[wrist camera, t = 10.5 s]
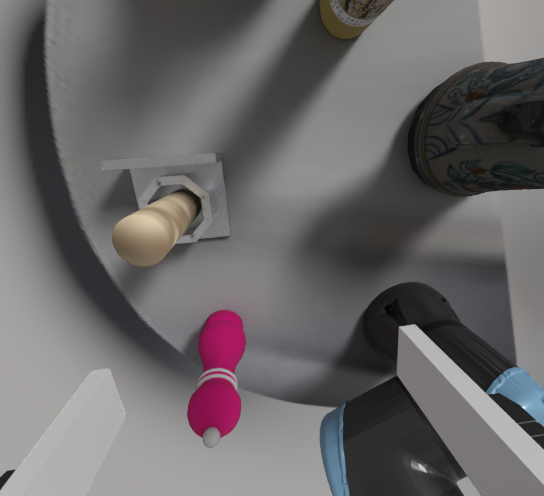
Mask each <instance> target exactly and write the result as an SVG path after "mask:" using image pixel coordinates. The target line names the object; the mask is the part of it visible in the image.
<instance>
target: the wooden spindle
mask: <svg viewBox="0 0 544 496" xmlns="http://www.w3.org/2000/svg"><path fill="white" fill-rule="evenodd" d="M200 210H201V203H200V200H199V198H198V197H197V195H196V194H195V193H193V192H192V191H190V190H186V189H179V190H176V191H174V192H172V193H170V194H169V195H167V196H165V197H163V198H161V199H159V200H157V201H155V202H153V203H152V204H150V205H148V206H146V207H144V208H142V209H140V210H138V211H136V212H135V213H133V214H131V215H129V216H127V217H125V218H123V219H122V220H120V221H119V222H118V223H117V224H116V226H115V227H114V230H113V233H112V242H113V246H114V248H115V250H116V252H117V253H118V254H119V256H120V257H121V258H123V259H124V260H125V261H127V262H128V263H130V264H133V265H136V266H142V267H146V266H152V265H155V264H157V263H159V262H160V261H161V260H162V259H163V258H164V257H165V256H166V255H167V253H168V252H169V251H170V250H171V248H172V247H173V246H174V245H175V243H176V242H177V241H178V240H179V239H180V237H181V236H182V235H183V234H184V232H185V231H186V230H187V229H188V227H189V226H190V225H191V224H192V222H193V221H194V220H195V219H196V217H197V216H198V215H199V213H200Z"/></svg>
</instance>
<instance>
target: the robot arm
mask: <svg viewBox="0 0 544 496" xmlns="http://www.w3.org/2000/svg"><path fill="white" fill-rule="evenodd" d="M363 329H364V334H365V337H366V339H367V341H368V342H369V344H370V345H371V347H372V348H373V350H374V351H375V352H376V353H377V354H378V355H379V356H381V357H383V358H384V359H386V360H388V361H389V362H390V363H392V364H393V365H394V366H396V367H397V376H395V377H393V378H391V379H390V380H388V381H386V382H384V383H382V384H380V385H378V386H377V387H375V388H373V389H371V390H369V391H367V392H365V393H363V394H361V395H360V396H358V397H356V398H354V399H352V400H350V401H348V400H347V401H345V402H343V404H342V405H341V406H340V407H338V408H336V409H335V410H333V411H332V412H330V413H328V414H327V415H326V416H325V417H324V419H323V420H322V422H321V426H320V447H321V454H322V459H323V464H324V468H325V472H326V476H327V479H328V483H329V486H330V489H331V492H332V495H333V496H464V495H463V493H462V492H461V490H460V489H459V487H458V486H457V481H458V480H460V479H462V478H464V477H467V476H468V477H469V479H470V480H471V482H472V483H473V485H474V486H475V487H476V489H477V490H478V492H479V493H480V495H481V496H544V388H543V387H542V386H540V385H539V384H538V383H537V382H536V381H534V380H533V379H532V378H531V376H530V375H529V374H528V373H527V372H526V371H525V370H523V369H522V368H520V367H518V366H517V365H515V364H514V363H513V362H511V361H510V360H509V359H507V358H506V357H505V356H503V355H502V354H501V353H500V352H498V351H497V350H496V349H494V348H493V347H492V346H490V345H489V344H488V343H486V342H485V341H484V340H482V339H481V338H480V337H479V336H477V335H476V334H475V333H473V332H472V331H471V330H469V329H468V328H467V327H465V326H464V325H463V324H462V323H461V322H460V320H459V318H458V317H457V315H456V314H455V312H454V311H453V309H452V308H451V306H450V304H449V303H448V301H447V300H446V298H445V297H444V296H443V295H441V294H440V293H439V292H437V291H436V290H435V289H433V288H432V287H430V286H428V285H426V284H423V283H417V282H409V283H403V284H399V285H396V286H394V287H391V288H389V289H388V290H386V291H384V292H383V293H382V294H380V295H379V296H378V297H377V298H376V299H375V300H374V301H373V302H372V304H371V305H370V307H369V308H368V310H367V312H366V315H365V318H364V324H363ZM125 418H126V413H125V410H124V407H123V404H122V402H121V399H120V397H119V393H118V391H117V388H116V385H115V382H114V380H113V377H112V375H111V372H110V369H109V368H108V369H101V370H94V371H91V372H90V374H89V375H88V376H87V377H86V379H85V380H84V382H83V383H82V384H81V385H80V387H79V388H78V389H77V391H76V392H75V393H74V394H73V396H72V397H71V399H70V400H69V401H68V402H67V404H66V405H65V406H64V408H63V409H62V410H61V411H60V413H59V414H58V415H57V417H56V418H55V419H54V421H53V422H52V423H51V425H50V426H49V427H48V429H47V430H46V431H45V432H44V434H43V435H42V436H41V438H40V439H39V440H38V442H37V443H36V444H35V445H34V447H33V448H32V450H31V451H30V452H29V453H28V455H27V456H26V457H25V459H24V460H23V461H22V463H21V464H20V465H19V467H18V468H17V469H16V470H10V471H7V472H6V473H4V474H3V475H2V476H1V477H0V496H87V495H88V493H89V491H90V489H91V487H92V485H93V483H94V481H95V479H96V477H97V475H98V473H99V470H100V469H101V466H102V464H103V462H104V460H105V458H106V456H107V454H108V452H109V450H110V448H111V446H112V444H113V442H114V440H115V438H116V436H117V434H118V432H119V430H120V428H121V426H122V423H123V422H124V420H125Z"/></svg>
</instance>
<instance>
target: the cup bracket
mask: <svg viewBox="0 0 544 496" xmlns="http://www.w3.org/2000/svg"><path fill="white" fill-rule="evenodd" d="M100 163H101V166H102V170H103V171H105V170H119V169H130V173H131V177H132V181H133V186H134V190H135V194H136V198H137V203H138V207H139V210H140V209H142V208H144V207H146V206H148V205H150V204H152V203H153V202H155V201H157V200H159V199H161V198H163V197H165V196H167V195H169V194H170V193H172V192H174V191H176V190H179V189H186V190H190V191H192V192H193V193H195V194H196V195H197V197H198V198H199V200H200V203H201V210H200V213H199V215H198V216H197V217H196V219H195V220H194V221H193V222H192V224H191V225H190V226H189V227H188V229H187V230H186V231H185V232H184V234H183V235H182V236H181V237H180V239H179V240H178V241H177V242H176V243H175V244H180V243H191V242H197V240H198V239H202V238H212V237H223V236H231V230H230V221H229V213H228V205H227V197H226V189H225V181H224V173H223V165H222V156H221V153H205V154H191V155H176V156H162V157H148V158H133V159H119V160H105V161H100Z"/></svg>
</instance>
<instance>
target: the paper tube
mask: <svg viewBox="0 0 544 496" xmlns="http://www.w3.org/2000/svg"><path fill="white" fill-rule="evenodd" d="M393 1H394V0H320V14H321V18H322V21H323V24H324V26H325V27H326V29H327V30H328V31H329V32H330V33H331V34H332V35H334V36H335V37H337V38H340V39H351V38H354V37H356V36H358V35H359V34H361V33H362V32H363V31H364V30H365V29H366V28H367V27H368V26H369V25H370V24H371V23H372V22H373V21H374V20H375V19H376V18H377V17H378V16H379V15H380V14H381V13H382V12H383V11H384V10H385V9H386V8H387V7H388V6H389V5H390V4H391V3H392V2H393Z"/></svg>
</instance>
